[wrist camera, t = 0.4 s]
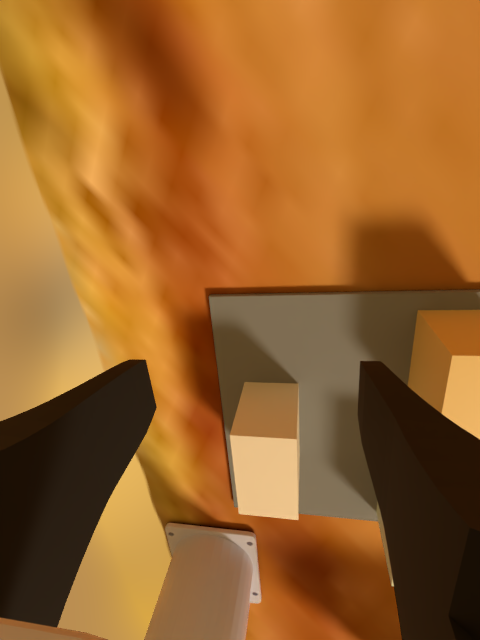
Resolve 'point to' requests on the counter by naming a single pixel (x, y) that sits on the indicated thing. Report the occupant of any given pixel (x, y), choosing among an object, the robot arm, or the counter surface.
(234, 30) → the counter surface
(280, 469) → the cream block
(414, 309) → the rubber mat
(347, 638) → the counter surface
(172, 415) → the counter surface
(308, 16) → the counter surface
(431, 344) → the mustard block
